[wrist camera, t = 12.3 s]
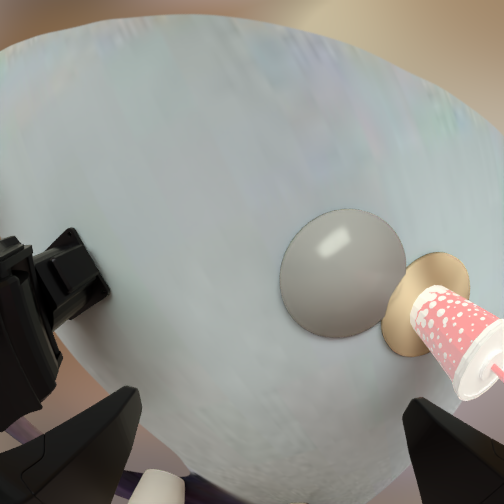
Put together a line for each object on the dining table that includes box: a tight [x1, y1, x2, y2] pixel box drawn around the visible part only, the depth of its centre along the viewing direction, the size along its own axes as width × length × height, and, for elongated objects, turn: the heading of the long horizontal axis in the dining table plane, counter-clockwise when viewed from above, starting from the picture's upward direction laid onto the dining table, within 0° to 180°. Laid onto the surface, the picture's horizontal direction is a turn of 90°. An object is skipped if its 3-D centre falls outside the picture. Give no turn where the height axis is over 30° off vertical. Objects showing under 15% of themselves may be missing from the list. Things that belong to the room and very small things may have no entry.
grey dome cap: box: [280, 209, 406, 338], centre depth 19 cm, size 10×10×1 cm
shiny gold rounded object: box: [381, 252, 470, 357], centre depth 20 cm, size 10×10×1 cm
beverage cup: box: [410, 285, 504, 401], centre depth 13 cm, size 6×6×14 cm
